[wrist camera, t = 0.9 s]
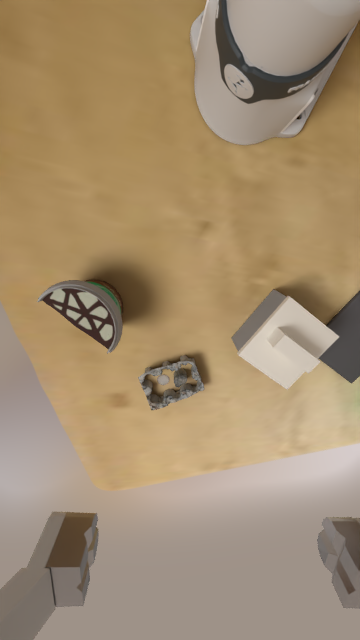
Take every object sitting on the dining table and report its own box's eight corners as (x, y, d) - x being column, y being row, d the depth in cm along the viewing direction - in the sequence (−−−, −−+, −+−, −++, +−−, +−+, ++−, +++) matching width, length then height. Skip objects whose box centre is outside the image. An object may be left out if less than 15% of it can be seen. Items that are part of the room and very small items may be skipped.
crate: (273, 289, 45) (287, 297, 39) (315, 322, 47) (334, 335, 41) (231, 338, 48) (239, 352, 42) (272, 367, 50) (285, 385, 44)
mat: (364, 286, 45) (366, 286, 44) (408, 325, 47) (411, 326, 47) (305, 347, 48) (306, 349, 48) (349, 381, 51) (351, 383, 50)
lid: (285, 294, 40) (299, 302, 35) (333, 332, 42) (352, 344, 38) (236, 350, 43) (243, 364, 38) (283, 384, 45) (295, 400, 40)
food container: (145, 305, 45) (138, 324, 36) (123, 330, 47) (110, 356, 37) (85, 255, 43) (60, 262, 33) (63, 284, 44) (33, 299, 34)
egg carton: (151, 399, 52) (148, 412, 48) (138, 365, 49) (134, 377, 45) (204, 385, 51) (206, 398, 47) (193, 350, 48) (195, 360, 45)
